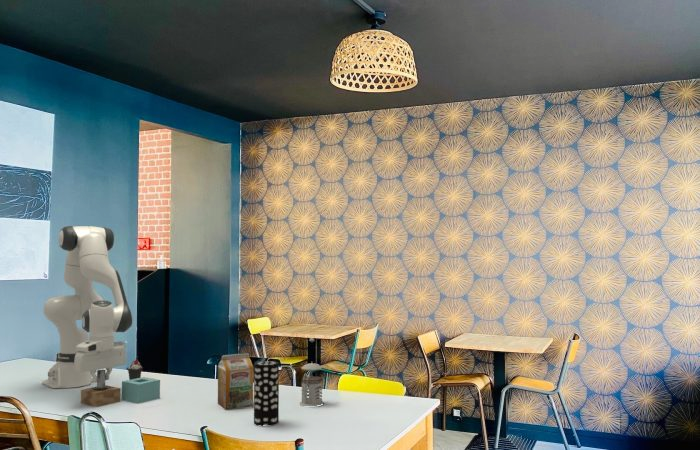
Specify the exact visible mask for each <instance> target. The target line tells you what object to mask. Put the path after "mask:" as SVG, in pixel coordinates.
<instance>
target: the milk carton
mask: <svg viewBox="0 0 700 450" xmlns="http://www.w3.org/2000/svg"><path fill="white" fill-rule="evenodd" d="M217 405H219V406H220V407H221V408H222V409H223V410H225V411H227V410H228V411H229V410H236V409H243V408H244V409H245V408H251V407H252V408H254V365H253V363H252V360H251V358H250V354H249V352H247V353H235V354H225V355H224V354H223V355H221V359H220V361H219V362H218V366H217Z"/></svg>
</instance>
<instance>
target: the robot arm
mask: <svg viewBox="0 0 700 450" xmlns="http://www.w3.org/2000/svg"><path fill="white" fill-rule="evenodd" d="M57 237H58V238H57V239H58V244H59V247H60V248H61V249H62V250H64V251H67V252H66V258H65V264H64V275H63V276H64V277H63V280H64V283H65V284H66V285H68V287H70V288H73V290H74V295H70V294H69V295H58V296H55V297H51V298H48V299H47V300H46V302H45V303H44V305H43V313H44V316H45V318H46V319H47V320H48V321H49V322H51V323H52V324H53V325H54V327H56V329H57V332H58V334H59V346H60V347H59V348H60V349H59V353H58V354H57V362H55V364H54V365H52V367H50V368H49V370H48V372H47V379H45V380H42V381H41V382H42V383H41V384H42V385H45V386H47V387H48V388H50V389H63V388H65V389H67V388H78V387H85V386H88V385H91V384H92V383H97V382H98V381H99V377H97V370H106V371H105V381H108V380H110V375H111V373H112V371H113V368H116V367H120V366H121V367H122V366H125V365H126V364H127V361H128V360H127V358H128V357H127V352H126V351H127V350H126V348H127V345H126V343H125V342H123V341H115V333H125V332H127V331H128V330H129V329H130V328H131V327H132V326H133V315H132V311H131V309H130V307H129V304H128V303H129V302H128V300H127V296H126V293H125V289H124V285H123V281H122V279H121V276H120V274H119V272H118V270H116V269H114V267H113V266H112V264H110V260H109V259H110V258H109V251H111V249H112V248H113V247H114V245H115V234H114V231H113V230H112V229H111V228H108V227H99V226H91V225H87V226H83V225H82V226H81V225H79V226H78V225H77V226H72V225H68V226H64V227H62V228H61V229H60V231H59V234H58V236H57ZM93 282H95V283H98V284H101V285H104V286H106V287H108V288H109V289H110V291H111V293H112V296H113V300H114V304H115V306H114V304H113V302H111V301H110V300H104V299H103V297H102V296H101V295H99V294H98V293H97V292H96V291H95V289H94V285H93ZM79 320H82V325H81V328H80V327H78V325H77V321H79ZM88 333H89V335H88Z"/></svg>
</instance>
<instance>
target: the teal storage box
mask: <svg viewBox="0 0 700 450" xmlns="http://www.w3.org/2000/svg"><path fill="white" fill-rule="evenodd" d="M160 398H161V380H160V379H157V378H153V377H152V378H151V377H145V376H142V377H140V378H137V379H132V380H129V379H127V380H123V381H121V400H122V401H125V402H129V403H133V404H141V403H145V402H146V403H147V402H150V401H154V400H157V399H160Z"/></svg>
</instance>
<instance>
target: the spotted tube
mask: <svg viewBox="0 0 700 450" xmlns="http://www.w3.org/2000/svg"><path fill="white" fill-rule="evenodd" d="M279 373H280V363H279V362H278V361H275V360H262V361H261V360H260V361H256V362H254V363H253V424H254V425H255V424H256V425H255V426H258V425H261V426H260V427H264V426H263V425H271V426H275V425H278V424H279V419H280V418H279V416H280V415H279V414H280V413H279V409H280V408H279V406H280V404H279V403H280V402H279V401H280V400H279V399H280V397H279V395H280V393H279V391H280V389H279V388H280V387H279V386H280V385H279V383H280V382H279V381H280V380H279V379H280V378H279V377H280V376H279V375H280V374H279ZM274 424H275V425H274Z"/></svg>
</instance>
